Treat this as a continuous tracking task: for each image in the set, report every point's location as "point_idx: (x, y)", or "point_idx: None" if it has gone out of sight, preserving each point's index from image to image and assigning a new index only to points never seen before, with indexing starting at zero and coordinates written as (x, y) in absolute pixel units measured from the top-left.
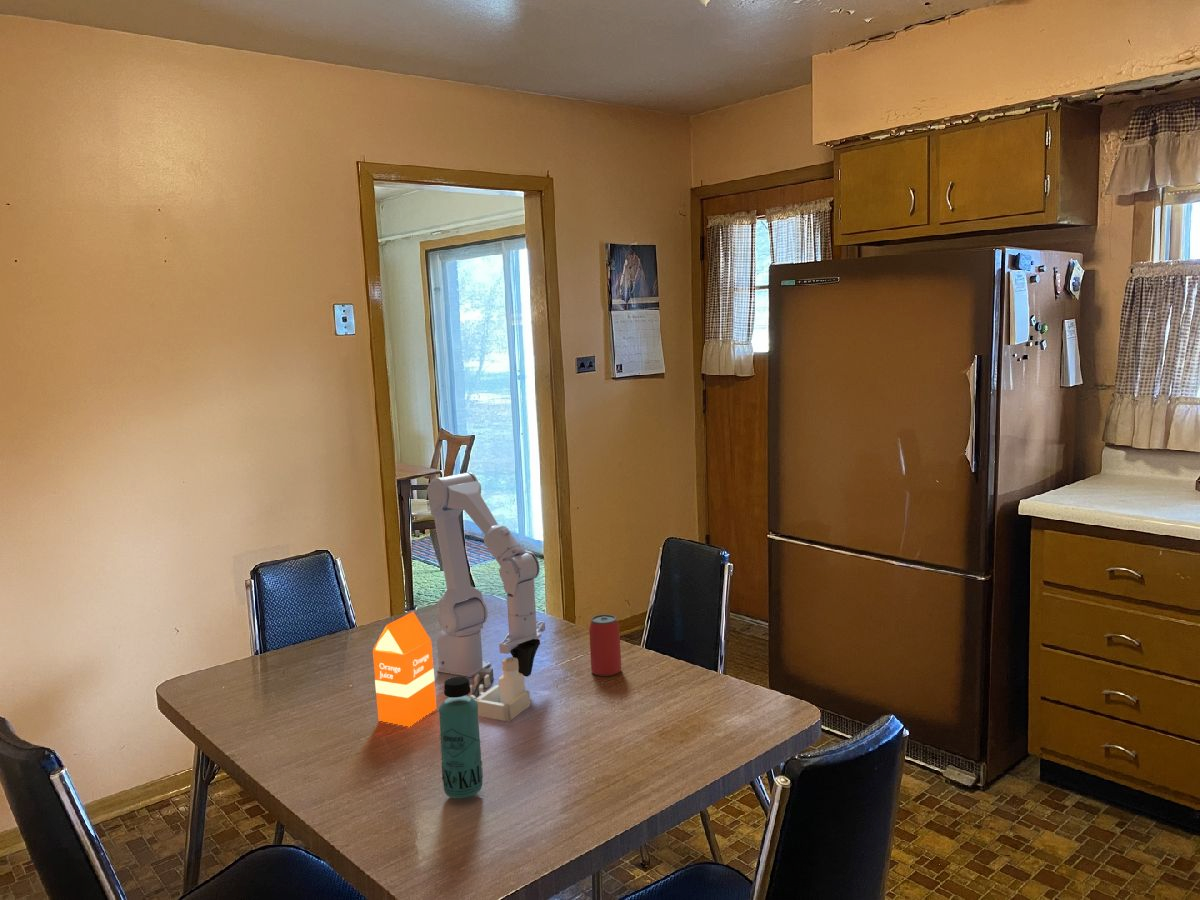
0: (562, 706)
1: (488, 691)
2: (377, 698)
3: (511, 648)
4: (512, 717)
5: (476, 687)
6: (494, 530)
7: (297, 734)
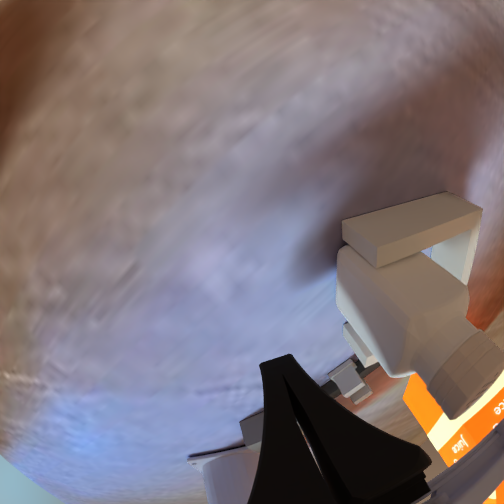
0: (282, 90)
1: None
2: None
3: (471, 454)
4: (434, 196)
5: None
6: None
7: None
